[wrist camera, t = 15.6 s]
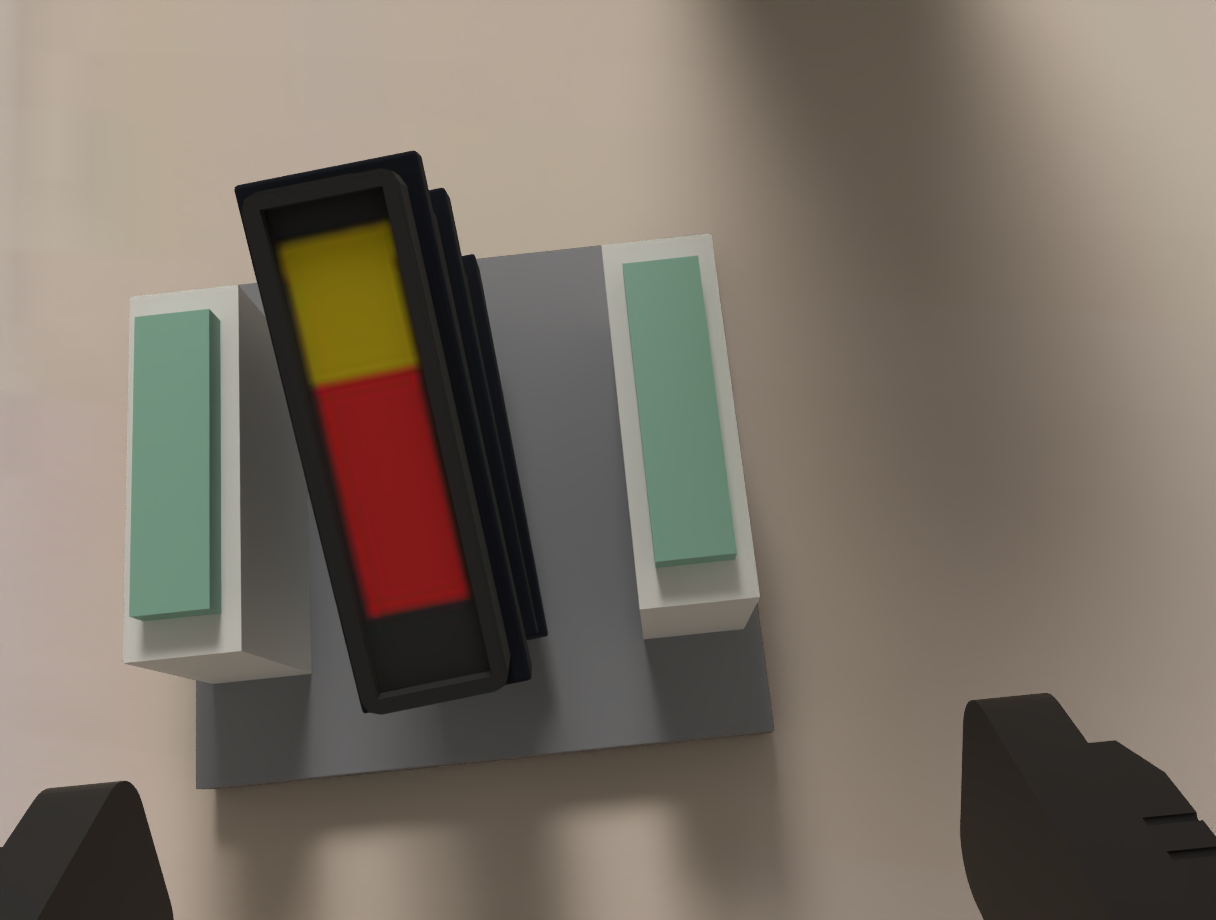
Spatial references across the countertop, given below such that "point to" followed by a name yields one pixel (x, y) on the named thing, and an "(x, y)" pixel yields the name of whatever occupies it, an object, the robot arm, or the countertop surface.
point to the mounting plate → (554, 505)
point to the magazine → (398, 428)
